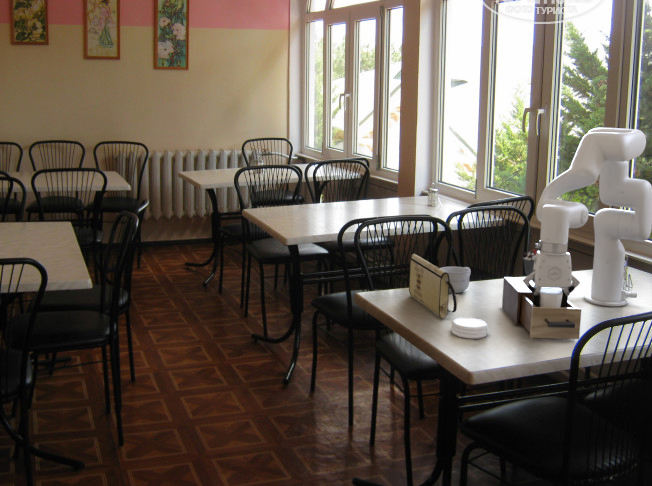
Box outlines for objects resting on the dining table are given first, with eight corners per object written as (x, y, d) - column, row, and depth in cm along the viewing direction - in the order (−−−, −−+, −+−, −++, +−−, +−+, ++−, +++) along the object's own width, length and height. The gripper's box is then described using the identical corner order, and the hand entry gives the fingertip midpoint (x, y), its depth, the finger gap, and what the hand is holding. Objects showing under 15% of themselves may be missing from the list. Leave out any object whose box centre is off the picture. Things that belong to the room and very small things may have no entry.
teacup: (451, 296, 252) (452, 273, 251) (431, 288, 262) (432, 266, 260) (482, 291, 259) (483, 269, 257) (461, 284, 268) (462, 263, 267)
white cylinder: (557, 310, 217) (559, 288, 216) (564, 318, 211) (565, 294, 209) (533, 310, 218) (535, 287, 217) (539, 317, 211) (541, 293, 210)
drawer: (585, 345, 203) (587, 314, 201) (536, 344, 203) (538, 313, 202) (560, 320, 224) (562, 292, 222) (515, 319, 224) (517, 291, 223)
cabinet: (565, 327, 221) (568, 293, 219) (516, 326, 221) (518, 291, 220) (547, 309, 238) (549, 278, 236) (501, 308, 239) (503, 277, 237)
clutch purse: (462, 319, 227) (464, 272, 224) (441, 321, 225) (443, 273, 223) (424, 293, 255) (426, 251, 253) (405, 294, 254) (407, 252, 251)
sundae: (542, 288, 264) (545, 247, 261) (523, 288, 264) (526, 247, 261) (536, 283, 270) (539, 243, 268) (518, 283, 270) (520, 243, 268)
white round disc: (493, 337, 211) (494, 326, 210) (462, 340, 208) (463, 328, 207) (475, 326, 220) (475, 315, 219) (445, 329, 217) (445, 318, 217)
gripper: (526, 249, 208) (522, 310, 211) (588, 250, 207) (584, 312, 210) (519, 244, 215) (515, 303, 218) (579, 245, 214) (575, 304, 217)
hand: (549, 306), depth 214 cm, fingers closed on white cylinder, 6 cm apart
